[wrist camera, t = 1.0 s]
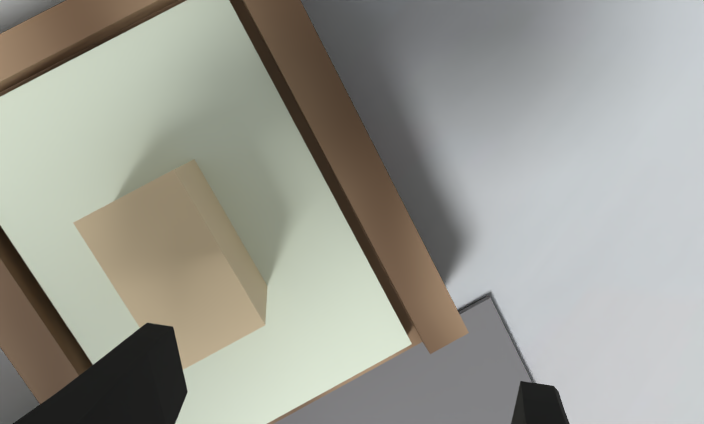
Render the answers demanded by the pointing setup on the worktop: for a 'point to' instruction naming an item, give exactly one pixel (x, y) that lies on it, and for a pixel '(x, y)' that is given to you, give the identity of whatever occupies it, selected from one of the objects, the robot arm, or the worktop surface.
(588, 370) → the worktop surface
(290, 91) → the walnut box
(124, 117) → the cover plate
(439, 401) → the charcoal mat
